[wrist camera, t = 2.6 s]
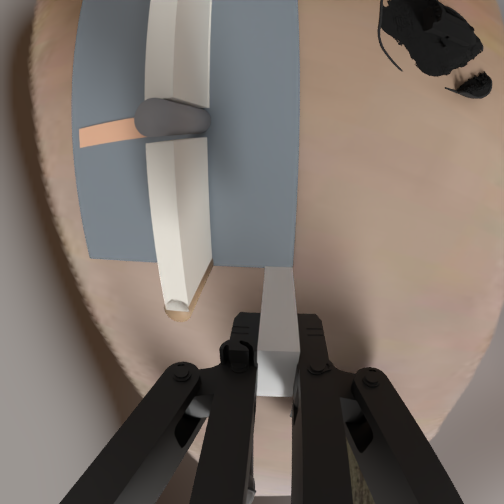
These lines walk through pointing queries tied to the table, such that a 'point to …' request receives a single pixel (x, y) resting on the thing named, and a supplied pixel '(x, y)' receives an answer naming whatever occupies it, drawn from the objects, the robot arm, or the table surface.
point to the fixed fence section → (176, 69)
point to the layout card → (218, 134)
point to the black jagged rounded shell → (434, 40)
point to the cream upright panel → (180, 220)
